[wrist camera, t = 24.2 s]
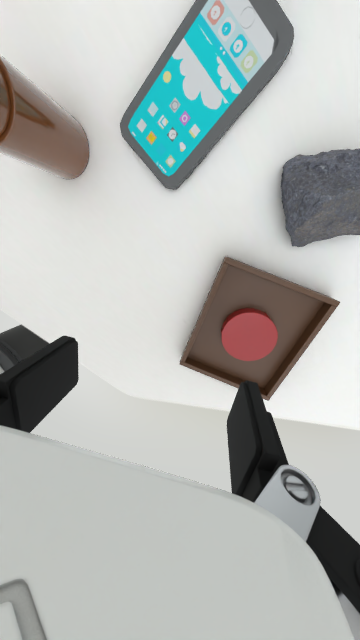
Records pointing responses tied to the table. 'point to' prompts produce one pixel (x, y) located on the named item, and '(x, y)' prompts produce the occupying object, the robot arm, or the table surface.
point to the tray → (269, 297)
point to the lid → (249, 334)
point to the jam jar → (38, 127)
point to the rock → (322, 196)
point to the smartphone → (205, 83)
